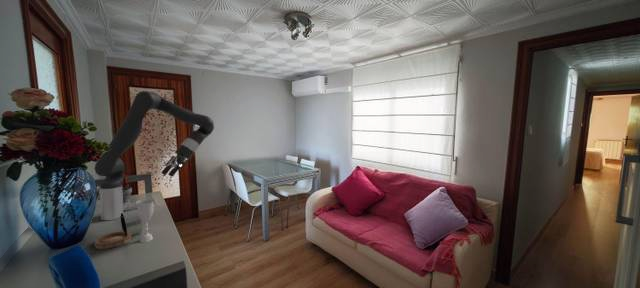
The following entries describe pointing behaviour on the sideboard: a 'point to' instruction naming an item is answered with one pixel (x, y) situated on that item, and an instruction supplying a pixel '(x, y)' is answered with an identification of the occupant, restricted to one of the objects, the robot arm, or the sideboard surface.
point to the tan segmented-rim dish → (112, 240)
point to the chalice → (145, 216)
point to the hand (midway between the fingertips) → (166, 174)
